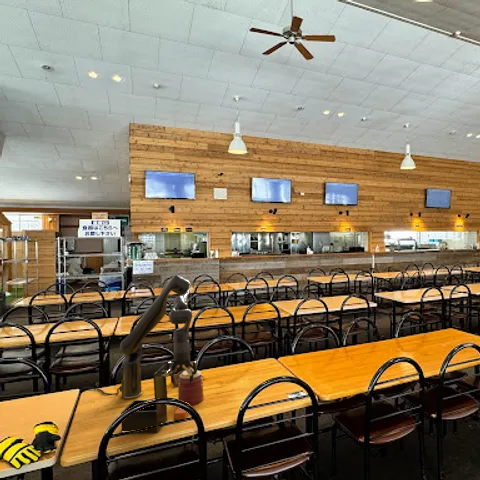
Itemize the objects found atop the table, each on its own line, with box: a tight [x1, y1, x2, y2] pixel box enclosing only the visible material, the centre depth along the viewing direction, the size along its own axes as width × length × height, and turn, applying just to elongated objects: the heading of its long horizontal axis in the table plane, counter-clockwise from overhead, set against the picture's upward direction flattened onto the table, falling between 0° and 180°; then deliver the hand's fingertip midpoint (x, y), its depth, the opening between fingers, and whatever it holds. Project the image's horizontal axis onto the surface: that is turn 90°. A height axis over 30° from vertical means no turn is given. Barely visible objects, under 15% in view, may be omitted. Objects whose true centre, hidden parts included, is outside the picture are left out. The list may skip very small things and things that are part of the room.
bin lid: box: [152, 364, 173, 410], centre depth 176 cm, size 16×13×5 cm
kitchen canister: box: [177, 367, 204, 406], centre depth 203 cm, size 13×13×18 cm
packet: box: [174, 407, 189, 420], centre depth 186 cm, size 8×5×3 cm, turn 2°
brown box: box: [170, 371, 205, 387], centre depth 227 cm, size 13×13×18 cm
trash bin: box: [120, 399, 168, 435], centre depth 176 cm, size 16×13×10 cm
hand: (182, 382), depth 186 cm, fingers open, 8 cm apart
